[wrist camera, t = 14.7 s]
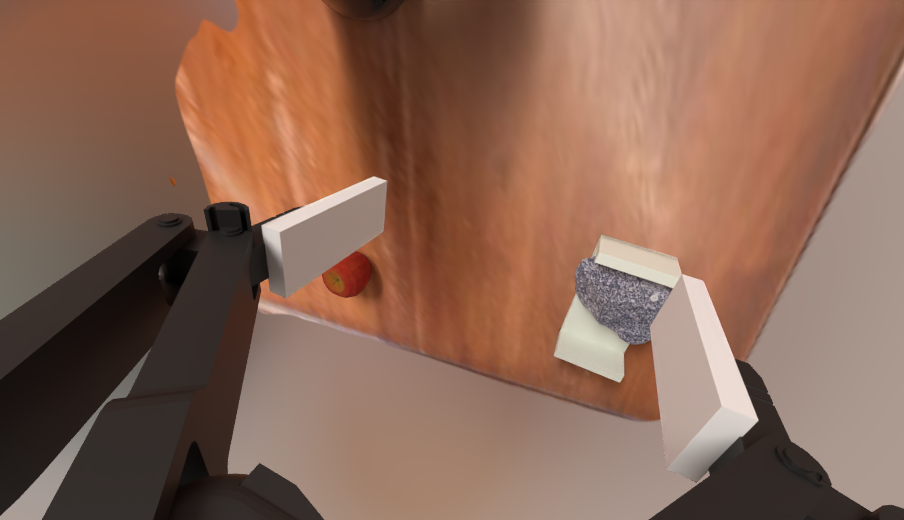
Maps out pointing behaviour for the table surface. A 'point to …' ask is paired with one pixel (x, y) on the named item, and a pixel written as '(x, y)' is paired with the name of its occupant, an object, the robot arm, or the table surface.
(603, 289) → the rock
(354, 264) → the apple
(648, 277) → the u rest
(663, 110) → the table surface
